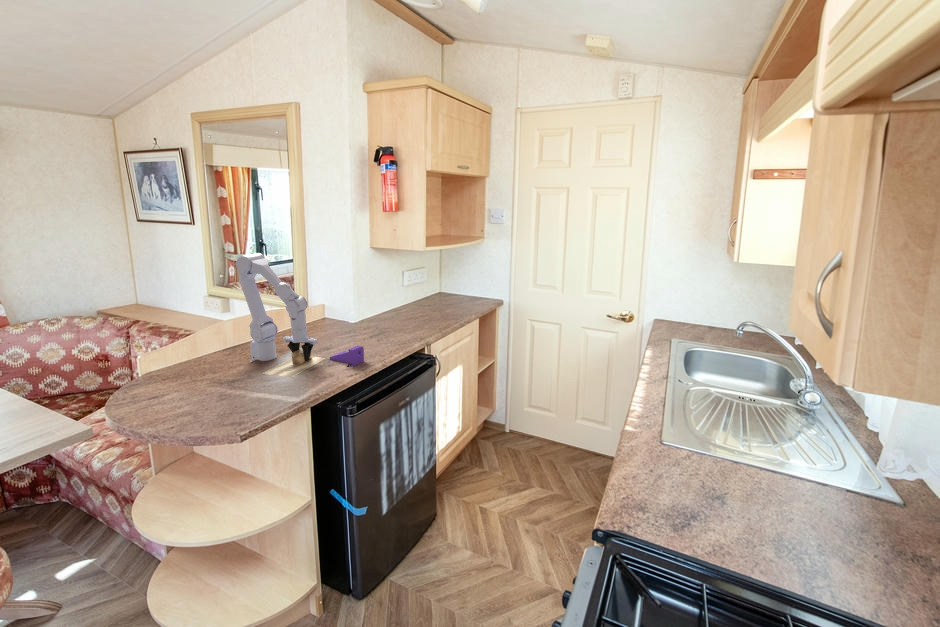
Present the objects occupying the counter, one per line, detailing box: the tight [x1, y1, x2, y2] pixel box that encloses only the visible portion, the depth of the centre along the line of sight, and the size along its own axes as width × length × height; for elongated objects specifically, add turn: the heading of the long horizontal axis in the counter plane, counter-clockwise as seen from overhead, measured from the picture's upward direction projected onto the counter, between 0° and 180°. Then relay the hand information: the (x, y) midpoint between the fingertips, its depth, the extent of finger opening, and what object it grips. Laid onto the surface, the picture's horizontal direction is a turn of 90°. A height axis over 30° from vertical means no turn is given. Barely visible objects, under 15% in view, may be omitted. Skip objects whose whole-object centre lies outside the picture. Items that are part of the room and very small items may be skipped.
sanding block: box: [291, 347, 313, 365], centre depth 194 cm, size 4×7×4 cm, turn 164°
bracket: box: [329, 345, 365, 367], centre depth 196 cm, size 12×7×7 cm, turn 64°
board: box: [261, 356, 326, 378], centre depth 190 cm, size 14×22×1 cm, turn 164°
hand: (302, 360), depth 194 cm, fingers closed on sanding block, 4 cm apart
